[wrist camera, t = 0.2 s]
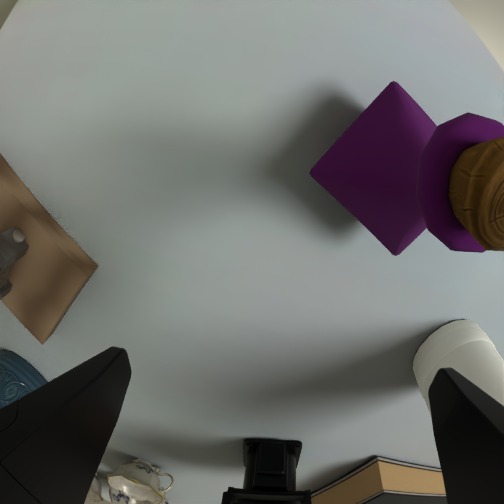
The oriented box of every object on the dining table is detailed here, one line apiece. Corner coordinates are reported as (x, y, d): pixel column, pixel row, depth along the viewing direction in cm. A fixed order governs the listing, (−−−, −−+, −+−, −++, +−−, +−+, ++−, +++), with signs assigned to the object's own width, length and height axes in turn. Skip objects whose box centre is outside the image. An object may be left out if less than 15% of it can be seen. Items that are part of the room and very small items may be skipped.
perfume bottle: (303, 165, 20) (405, 367, 3) (377, 85, 17) (625, 26, 1) (380, 239, 21) (522, 465, 4) (448, 165, 18) (668, 276, 2)
